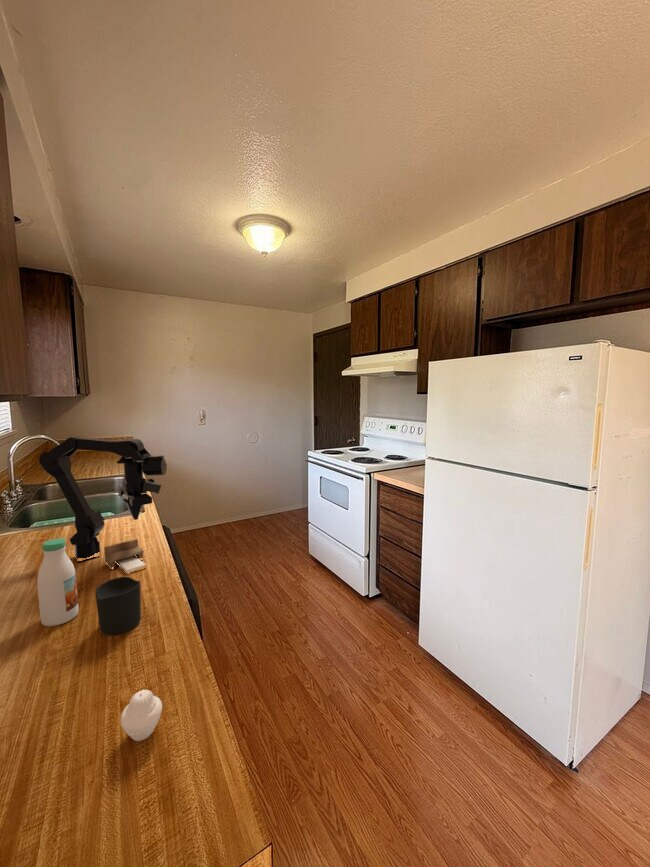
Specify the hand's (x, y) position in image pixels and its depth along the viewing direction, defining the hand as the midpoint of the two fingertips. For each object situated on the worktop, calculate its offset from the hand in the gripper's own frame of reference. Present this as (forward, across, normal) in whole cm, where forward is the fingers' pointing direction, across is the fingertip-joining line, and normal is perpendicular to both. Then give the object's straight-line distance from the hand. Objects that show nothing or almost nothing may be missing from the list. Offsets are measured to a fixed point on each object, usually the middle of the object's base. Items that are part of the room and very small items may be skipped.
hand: (135, 519), depth 126 cm
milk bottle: (+13, -27, +25) cm, 39 cm away
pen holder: (+13, -40, +15) cm, 45 cm away
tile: (+13, -8, +4) cm, 16 cm away
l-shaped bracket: (+13, -5, +5) cm, 15 cm away
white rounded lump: (+13, -74, +19) cm, 78 cm away
